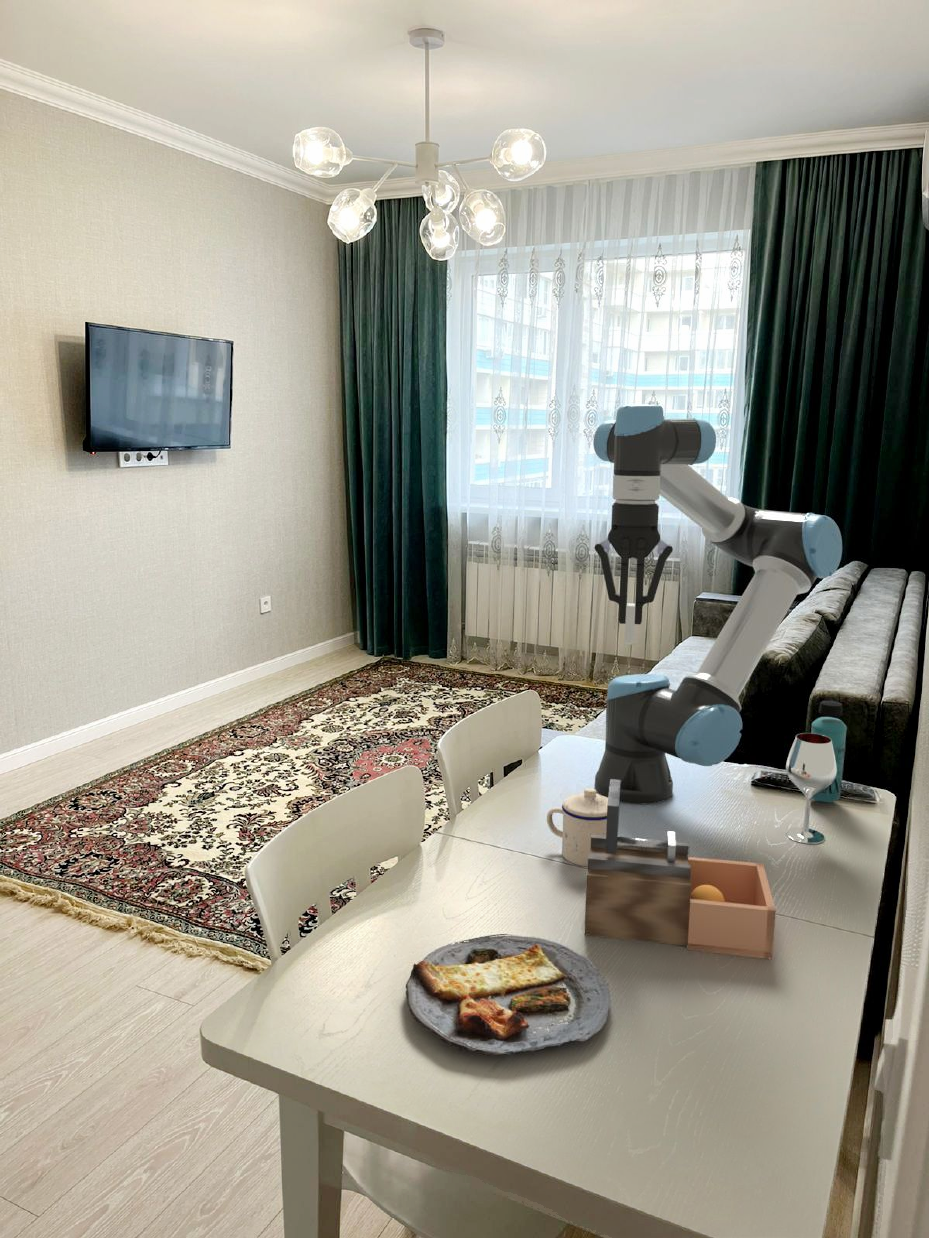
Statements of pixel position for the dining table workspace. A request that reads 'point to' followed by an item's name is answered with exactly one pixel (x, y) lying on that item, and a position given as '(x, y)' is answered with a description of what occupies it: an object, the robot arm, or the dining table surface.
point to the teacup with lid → (580, 824)
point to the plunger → (626, 842)
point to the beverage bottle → (837, 734)
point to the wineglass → (810, 776)
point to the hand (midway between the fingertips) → (629, 642)
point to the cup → (731, 909)
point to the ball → (707, 893)
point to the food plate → (507, 994)
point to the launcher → (637, 894)
